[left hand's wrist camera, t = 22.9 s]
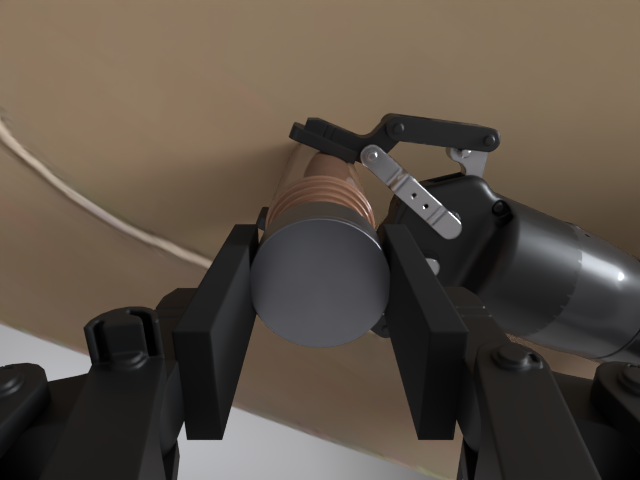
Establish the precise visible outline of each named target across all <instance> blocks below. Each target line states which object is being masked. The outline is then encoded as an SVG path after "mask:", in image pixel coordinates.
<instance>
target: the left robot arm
mask: <svg viewBox="0 0 640 480" xmlns="http://www.w3.org/2000/svg"><path fill="white" fill-rule="evenodd" d="M258 245H259V239H258V224H235V226H234V228H233V229H232V231H231V233H230V234H229V236H228V238H227V239H226V241H225V243H224V244H223V246H222V248H221V249H220V251H219V253H218V254H217V256H216V258H215V259H214V261H213V263H212V265H211V266H210V268H209V270H208V271H207V273H206V275H205V276H204V278H203V280H202V281H201V283H200V285H199V286H198V288H177V289H175V290H174V291H172V292H171V293H169V294H168V295H166V296H165V297H163V299H162V300H161V301H160V303H159V304H158V305H157V307H156V310H152V309H150V308H146V307H124V308H119V309H114V310H111V311H108V312H106V313H103V314H101V315H99V316H97V317H95V318H94V319H92V320H90V321H89V322H88V324H87V325H86V326H85V327H84V332H85V337H86V341H87V345H88V350H89V354H90V358H91V363H92V366H91V368H90V370H89V372H88V373H87V374H83V375H79V376H74V377H69V378H64V379H59V380H54V381H49V382H48V381H47V377H46V374H45V370H44V369H43V368H42V367H40V366H39V365H37V364H31V363H21V364H11V365H6V366H4V367H3V366H2V367H0V480H177V475H178V467H179V458H180V455H179V448H178V441H177V437H178V435H179V433H180V430H181V427H182V425H183V422H185V429H186V436H187V440H222V438H223V435H224V431H225V428H226V424H227V420H228V417H229V413H230V409H231V406H232V402H233V398H234V395H235V391H236V387H237V384H238V380H239V376H240V373H241V369H242V365H243V362H244V358H245V354H246V351H247V347H248V343H249V340H250V336H251V333H252V329H253V325H254V322H255V318H256V314H257V313H256V311H255V309H254V307H253V304H252V297H251V282H250V267H251V264H252V261H253V258H254V256H255V253H256V250H257V248H258ZM382 247H383V250H384V252H385V255H386V257H387V260H388V263H389V266H390V270H391V273H390V289H389V303H388V305H387V308H386V310H385V311H384V316H385V320H386V324H387V327H388V331H389V334H390V338H391V342H392V345H393V349H394V353H395V356H396V360H397V364H398V367H399V371H400V375H401V378H402V382H403V386H404V389H405V393H406V397H407V400H408V404H409V407H410V411H411V415H412V418H413V422H414V426H415V429H416V433H417V437H418V440H453V439H454V432H455V425H456V419H457V422H458V424H459V427H460V429H461V432H462V434H463V441H462V448H461V454H460V461H459V467H458V473H457V480H462V479H463V480H640V365H639V364H638V365H636V364H635V363H630V362H619V361H611V362H605V363H602V364H601V365H600V366H598V367H597V369H596V372H595V376H594V380H591V379H586V378H581V377H576V376H571V375H566V374H561V373H557V372H553V371H551V369H550V367H549V365H548V364H547V362H546V361H545V360H544V358H543V357H542V356H541V355H539V354H538V353H536V352H535V351H534V350H532V349H530V348H528V347H525V346H523V345H520V344H518V343H513V342H511V341H510V340H509V338H508V337H507V336H506V334H505V333H504V331H503V330H502V329H501V327H500V326H499V325H498V323H497V322H496V321H495V319H494V318H493V317H491V314H490V312H489V311H488V310H487V308H485V306H484V304H483V303H482V302H481V300H480V299H479V298H478V296H477V295H475V294H474V293H472V292H470V291H469V290H467V289H466V288H464V287H442V285H441V284H440V282H439V280H438V279H437V277H436V275H435V274H434V272H433V270H432V269H431V267H430V265H429V264H428V262H427V260H426V259H425V257H424V255H423V254H422V252H421V250H420V249H419V247H418V245H417V244H416V242H415V240H414V239H413V237H412V235H411V234H410V232H409V230H408V229H407V227H406V225H405V224H383V230H382Z"/></svg>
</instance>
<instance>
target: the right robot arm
mask: <svg viewBox="0 0 640 480" xmlns="http://www.w3.org/2000/svg"><path fill="white" fill-rule="evenodd" d="M289 138H291V139H293V140H295V141H297V142H300V143H302V144H304V145H307V146H309V147H312V148H314V149H317V150H319V151H321V152H324V153H326V154H329V155H331V156H334V157H337V158H339V159H341V160H343V161H346V162H348V163H350V164H353V165H354V163H355V161H357V162H360V163H362V164H364V165H365V166H366V167H367V168H368V169H369V170H370V171H371V172H372V173H373V174H375V175H376V176H377V177H378V178H379V179H380V180H381V181H382V182H384V183H385V184H386V185H387V186H388V187H389V188H390V189H391V190H392V191H393V192H394V193H395V194H394V196H393V198H392V200H391V202H390V207H389V212H388V216H387V217H386V218H385V220H384V221H383V222H382V223H381V224H380V225H379V227H378V229H377V231H376V233H377V235H378V237H379V239H380V242H381V244H382V230H383V224H405V225H406V227H407V229H408V230H409V232H410V234H411V235H412V237H413V239H414V240H415V242H416V244H417V245H418V247H419V249H420V250H421V252H422V254H423V255H424V257H425V259H426V260H427V262H428V264H429V265H430V267H431V269H432V270H433V272H434V274H435V275H436V277H437V279H438V280H439V282H440V284H441V285H442V287H464V288H466V289H467V290H469V291H470V292H472V293H474V294H475V295H477V296H478V298H479V299H480V300H481V302H482V303H483V304H484V306H485V308H487V310H488V311H489V312H490V314H491V317H493V318H494V319H495V321H496V322H497V323H498V325H499V326H500V327H501V329H502V330H503V331H504V332H505V333H508V334H510V335H513V336H516V337H519V338H521V339H524V340H527V341H529V342H532V343H535V344H537V345H540V346H543V347H546V348H549V349H552V350H556V351H560V352H566V353H570V354H575V355H578V356H581V357H584V358H586V359H589V360H592V361H594V362H597V363H600V364H602V363H605V362H611V361H619V362H630V363H635V364H636V365H638V364H639V365H640V259H639V258H637V257H635V256H632V255H630V254H628V253H626V252H624V251H622V250H620V249H619V248H617V247H616V246H614V245H612V244H611V243H609V242H607V241H606V240H604V239H602V238H600V237H598V236H596V235H593V234H591V233H589V232H586V231H584V230H582V229H581V228H580V227H578V226H577V225H574V224H572V223H568V222H563V221H560V220H558V219H556V218H553V217H551V216H549V215H546V214H544V213H541V212H539V211H537V210H534V209H532V208H530V207H527V206H525V205H523V204H520V203H518V202H516V201H513V200H511V199H509V198H506V197H504V196H502V195H499V194H497V193H495V192H493V191H492V190H491V188H490V187H489V185H488V184H487V182H486V181H485V180H484V179H482V175H483V171H484V167H485V163H486V159H487V156H488V152H491V151H493V150H495V149H496V148H497V147H498V146H499V144H500V139H501V138H500V134H499V132H498V131H497V130H495V129H492V128H488V127H484V126H480V125H477V124H470V123H462V122H454V121H447V120H439V119H432V118H424V117H416V116H409V115H401V114H394V113H389V114H387V115H385V116H384V117H383V118H382V119H381V122H380V123H379V124H378V125H377V126H376V127H375V128H374V130H373V131H372V132H370V133H369V134H366V135H358V134H355V133H353V132H350V131H348V130H346V129H343V128H341V127H339V126H336V125H334V124H332V123H329V122H327V121H325V120H322V119H320V118H308V119H307V122H306V125H302V124H300V123H297V122H294V124H293V127H292V129H291V132H290V135H289ZM399 141H403V142H411V143H419V144H426V145H434V146H442V147H446V154H447V156H448V157H449V158H450V159H452V160H454V161H456V162H458V163H459V164H460V166H461V172H458V173H454V174H450V175H445V176H441V177H437V178H433V179H428V180H424V181H420V182H418V181H417V180H416V179H415V178H414V177H412V176H411V175H410V174H409V173H408V172H407V171H406V170H405V169H404V168H403V167H402V166H400V165H399V164H398V163H397V162H396V161H395V160H394V159H393V158H392V157H391V156H389V155H388V154H387V153H388V152H389V151H390V150H391V149H392V148H393V147H394V146H395V145H396V144H397V143H398V142H399ZM268 210H269V208H268V207H263V208H262V210H261V212H260V214H259V217H258V219H257V222H256V224H258V228H259V229H261V230H263V231H264V232H265V222H266V217H267V213H268ZM263 234H264V233H263ZM370 330H372V331H373V332H375V333H376V334H378V335H379V336H381V337H383V338H388V337H390V334H389V331H388V327H387V324H386V320H385V316H384V313H383V315H382V316H381V318H380V319H379V320H378V322H377V323H376V324H375V325H374V326H373V327H372V328H371V329H370Z"/></svg>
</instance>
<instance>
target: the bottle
mask: <svg viewBox="0 0 640 480" xmlns="http://www.w3.org/2000/svg"><path fill="white" fill-rule="evenodd" d="M314 201H327V202H333V203H338V204H341V205H344V206H346V207H349V208H351V209H353V210H354V211H356V212H358V213H359V214H360V215H362V216H363V217H364V218H365V219H366V220H367V221H368V222H369V223H370V224H371V225H372V227H373V228H374V230H375V220H374V215H373V212H372V209H371V206H370V204H369V202H368V199H367V197H366V194H365V192H364V189H363V187H362V184H361V182H360V179H359V177H358V175H357V172H356V170H355V167H354V165H353V164H350V163H348V162H346V161H343V160H341V159H339V158H337V157H334V156H331V155H329V154H326V153H324V152H321V151H319V150H317V149H314V148H312V147H309V146H307V145H304V144H302V143H301V144H300V145H299V146H298V147H296V149H295V150H294V151H293V153H292V154H291V156H290V158H289V161H288V163H287V166H286V168H285V171H284V173H283V175H282V178H281V180H280V183H279V185H278V188H277V190H276V193H275V195H274V198H273V200H272V202H271V205H270V207H269V210H268V213H267V217H266V222H265V230H266V228H267V227H268V226H269V225H270V223H271V222H272V221H273V220H274V219H275V218H276V217H277V216H279V215H280V214H281V213H283V212H284V211H286V210H288V209H290V208H291V207H294V206H297V205H299V204H303V203H307V202H314Z"/></svg>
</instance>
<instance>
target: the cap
mask: <svg viewBox="0 0 640 480" xmlns="http://www.w3.org/2000/svg"><path fill="white" fill-rule="evenodd" d="M390 273H391V270H390V266H389V263H388V260H387V257H386V255H385V252H384V250H383V247H382V244H381V242H380V239H379V237H378V235H377V233H376V231H375V230H374V228H373V227H372V225H371V224H370V223H369V222H368V221H367V220H366V219H365V218H364V217H363V216H362V215H360V214H359V213H358V212H356V211H354V210H353V209H351V208H349V207H346V206H344V205H341V204H338V203H333V202H327V201H314V202H307V203H303V204H299V205H297V206H294V207H291V208H290V209H288V210H286V211H284V212H283V213H281V214H280V215H279V216H277V217H276V218H275V219H274V220H273V221H272V222H271V223H270V225H269V226H268V227H267V228H266V230H265V232H264V234H263V235H262V238H261V240H260V243H259V245H258V248H257V250H256V253H255V256H254V258H253V261H252V264H251V267H250V282H251V297H252V304H253V307H254V309H255V311H256V313H257V314H258V316H259V317H260V319H261V320H262V321H263V322H264V324H265V325H266V326H267V327H268V328H269V329H271V330H272V331H273V332H274V333H276V334H277V335H279V336H280V337H282V338H284V339H286V340H288V341H290V342H293V343H295V344H299V345H303V346H308V347H322V348H323V347H333V346H338V345H342V344H345V343H348V342H350V341H353V340H355V339H357V338H359V337H360V336H362V335H363V334H365V333H366V332H367V331H369V330H370V329H371V328H372V327H373V326H374V325H375V324H376V323H377V322H378V320H379V319H380V318H381V316H382V315H383V313H384V311H385V310H386V308H387V305H388V303H389V289H390Z"/></svg>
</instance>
